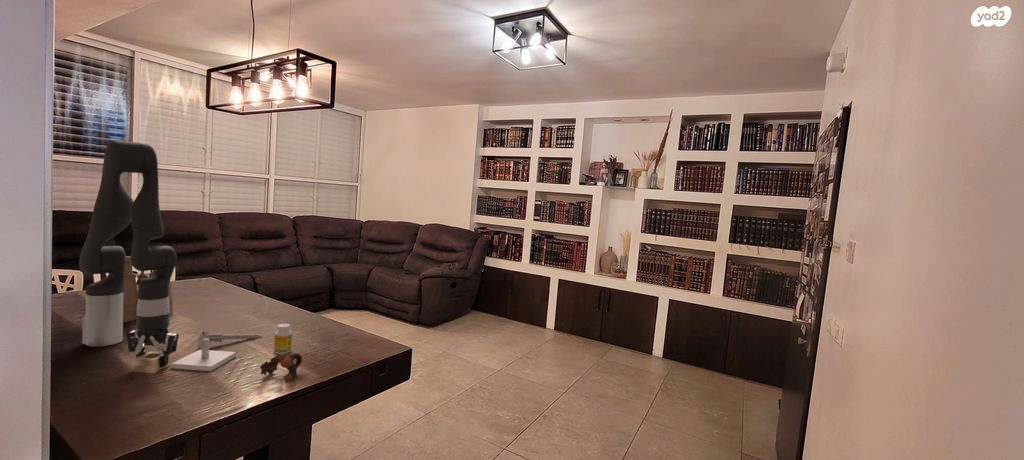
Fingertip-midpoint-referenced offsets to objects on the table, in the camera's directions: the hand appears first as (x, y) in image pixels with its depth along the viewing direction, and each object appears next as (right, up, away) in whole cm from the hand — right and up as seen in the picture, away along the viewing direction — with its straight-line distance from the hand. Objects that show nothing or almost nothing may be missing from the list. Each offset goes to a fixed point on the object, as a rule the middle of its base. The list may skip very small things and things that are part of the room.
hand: (152, 365), depth 128 cm
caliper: (+7, 0, +25) cm, 26 cm away
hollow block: (0, -1, 0) cm, 1 cm away
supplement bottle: (+28, -2, +21) cm, 35 cm away
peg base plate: (+11, -1, +7) cm, 13 cm away
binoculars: (-42, +6, +44) cm, 61 cm away
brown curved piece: (+39, -4, +2) cm, 39 cm away
